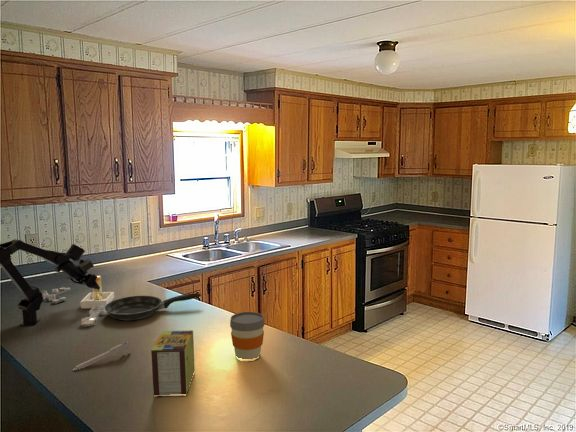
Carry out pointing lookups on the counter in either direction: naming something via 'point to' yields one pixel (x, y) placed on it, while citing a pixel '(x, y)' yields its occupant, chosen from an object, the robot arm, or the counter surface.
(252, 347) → the reusable coffee cup
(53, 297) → the pulley system
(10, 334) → the counter surface
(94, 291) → the pin
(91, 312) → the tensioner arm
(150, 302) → the frying pan
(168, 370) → the protein box
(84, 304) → the parts tray
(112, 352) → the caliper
